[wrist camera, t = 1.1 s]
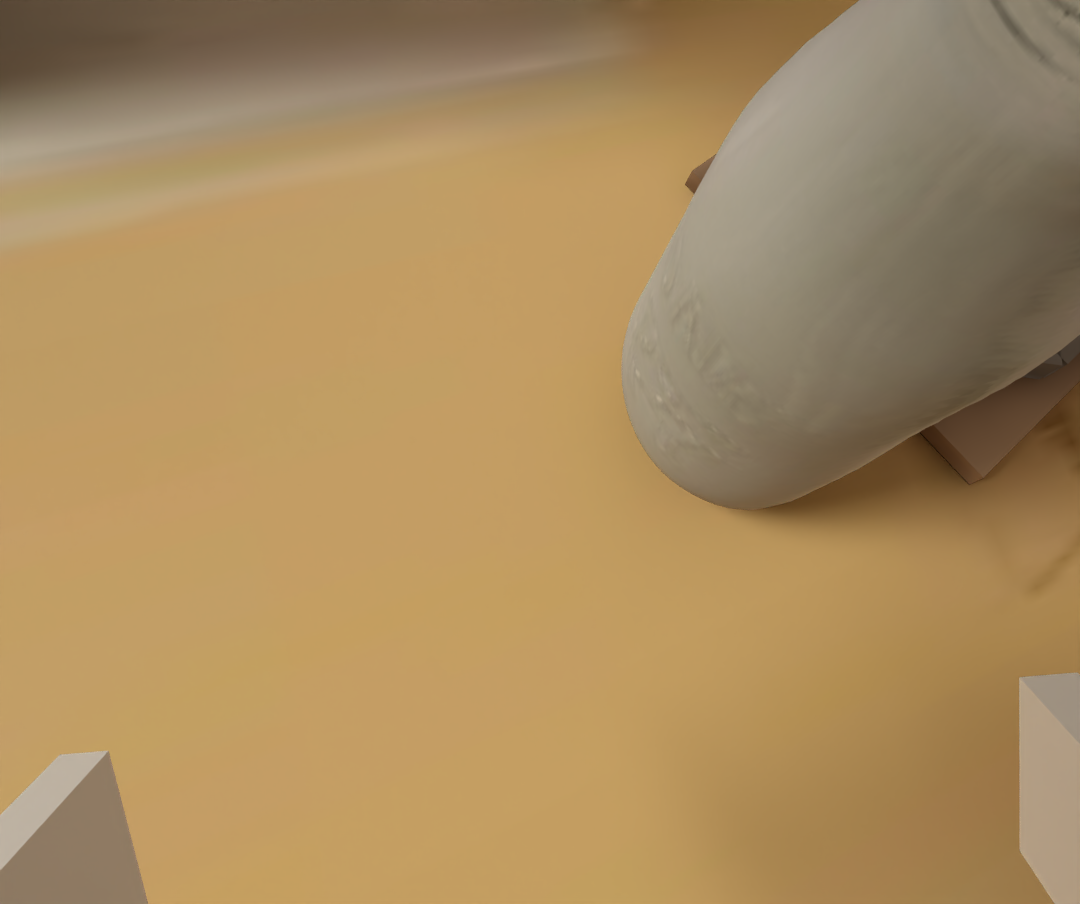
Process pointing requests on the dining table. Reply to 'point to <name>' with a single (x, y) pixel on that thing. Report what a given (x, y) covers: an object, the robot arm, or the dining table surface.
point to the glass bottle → (866, 249)
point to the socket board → (991, 405)
